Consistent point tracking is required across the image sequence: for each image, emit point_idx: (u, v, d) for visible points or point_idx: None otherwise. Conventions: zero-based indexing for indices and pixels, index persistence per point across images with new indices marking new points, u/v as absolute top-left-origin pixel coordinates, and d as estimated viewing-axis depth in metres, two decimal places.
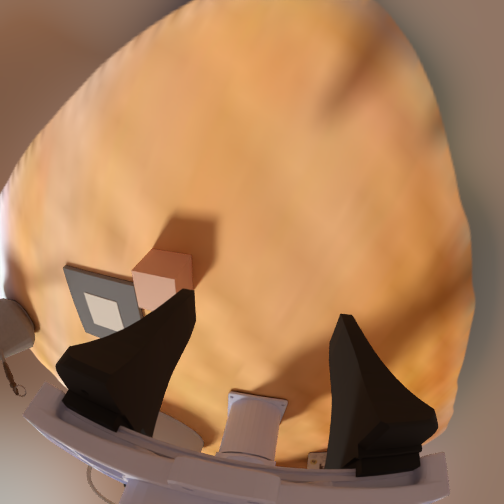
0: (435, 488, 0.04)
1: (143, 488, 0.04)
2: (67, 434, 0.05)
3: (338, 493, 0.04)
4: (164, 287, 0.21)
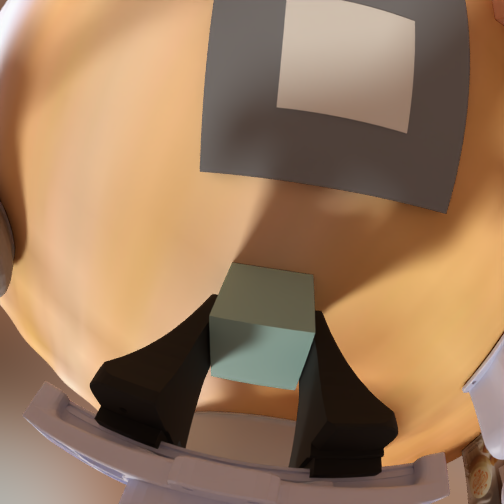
0: (435, 488, 0.04)
1: (143, 488, 0.04)
2: (67, 434, 0.05)
3: (338, 493, 0.04)
4: None
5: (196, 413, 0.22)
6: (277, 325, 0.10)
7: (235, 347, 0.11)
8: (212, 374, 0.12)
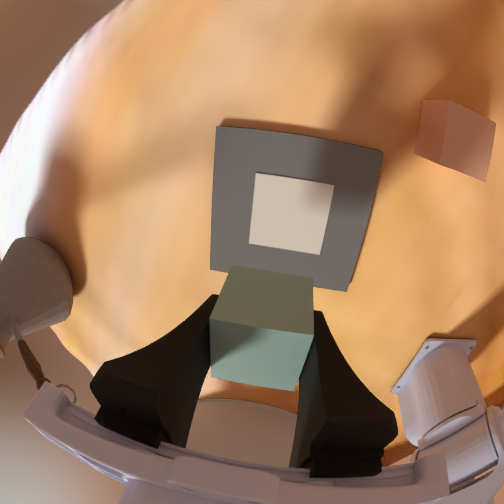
0: (435, 488, 0.04)
1: (143, 488, 0.04)
2: (67, 434, 0.05)
3: (338, 493, 0.04)
4: (484, 132, 0.10)
5: (204, 400, 0.33)
6: (276, 328, 0.10)
7: (235, 349, 0.11)
8: (212, 375, 0.12)
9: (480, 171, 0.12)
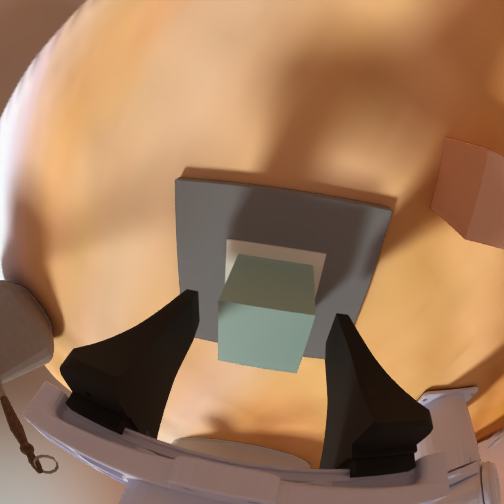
0: (435, 488, 0.04)
1: (143, 488, 0.04)
2: (67, 434, 0.05)
3: (338, 493, 0.04)
4: None
5: (194, 438, 0.30)
6: (280, 309, 0.11)
7: (241, 330, 0.12)
8: (219, 358, 0.13)
9: None
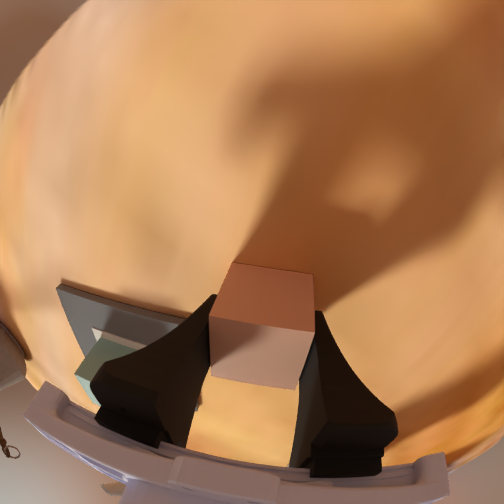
0: (435, 488, 0.04)
1: (143, 488, 0.04)
2: (67, 434, 0.05)
3: (338, 493, 0.04)
4: (285, 346, 0.10)
5: None
6: None
7: None
8: (92, 401, 0.16)
9: (283, 382, 0.11)
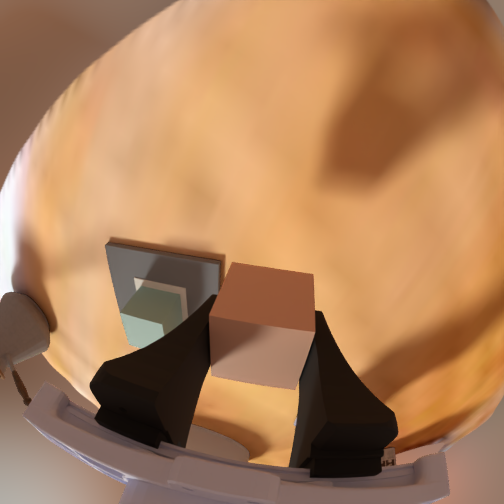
0: (435, 488, 0.04)
1: (143, 488, 0.04)
2: (67, 434, 0.05)
3: (338, 493, 0.04)
4: (285, 346, 0.10)
5: None
6: (146, 319, 0.20)
7: (133, 329, 0.21)
8: (129, 343, 0.22)
9: (283, 382, 0.11)
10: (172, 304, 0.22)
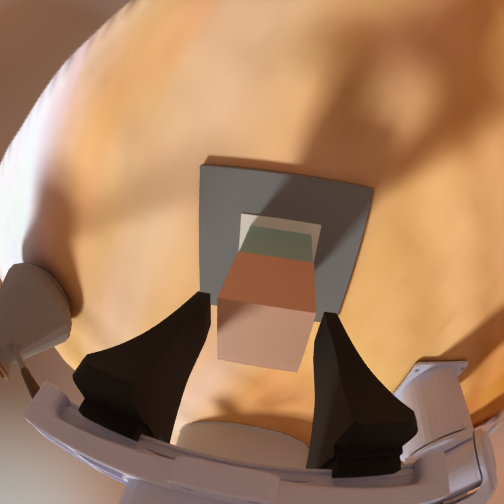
0: (435, 488, 0.04)
1: (144, 488, 0.04)
2: (67, 434, 0.05)
3: (338, 493, 0.04)
4: (288, 327, 0.11)
5: (202, 422, 0.34)
6: None
7: None
8: None
9: (286, 364, 0.12)
10: (309, 244, 0.16)
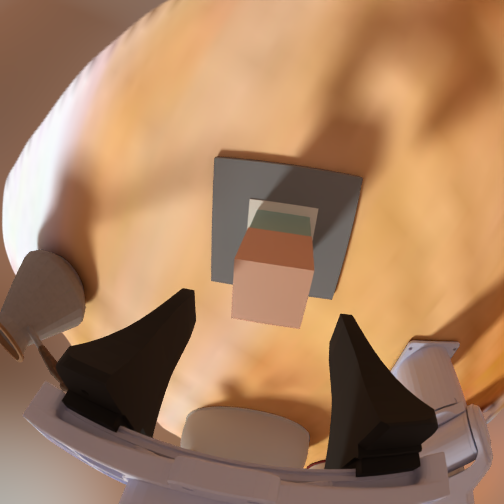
0: (435, 488, 0.04)
1: (143, 488, 0.04)
2: (67, 434, 0.05)
3: (338, 493, 0.04)
4: (292, 284, 0.14)
5: (208, 408, 0.38)
6: None
7: None
8: None
9: (290, 320, 0.15)
10: (308, 224, 0.19)
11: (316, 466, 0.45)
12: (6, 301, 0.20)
